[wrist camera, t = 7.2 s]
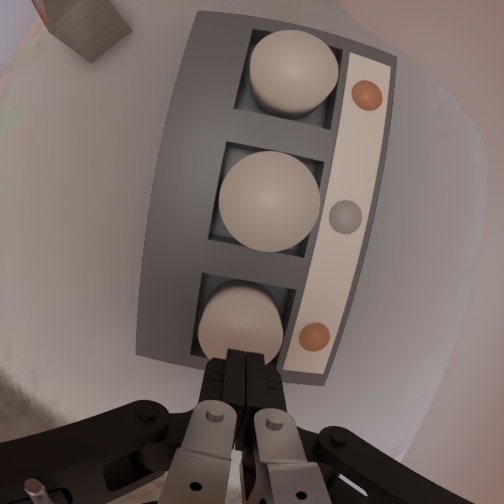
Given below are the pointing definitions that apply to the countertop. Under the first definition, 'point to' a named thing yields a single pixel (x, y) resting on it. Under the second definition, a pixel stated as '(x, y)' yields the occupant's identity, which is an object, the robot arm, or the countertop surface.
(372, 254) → the countertop surface
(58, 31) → the grey carton box
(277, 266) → the button board
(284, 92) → the button
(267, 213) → the middle button
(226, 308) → the button
